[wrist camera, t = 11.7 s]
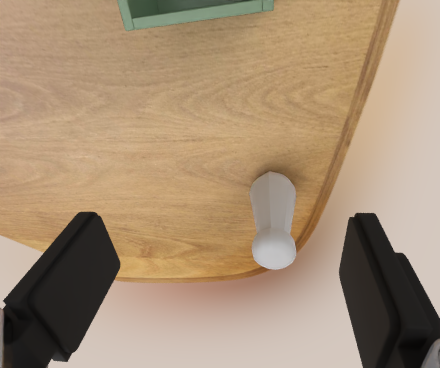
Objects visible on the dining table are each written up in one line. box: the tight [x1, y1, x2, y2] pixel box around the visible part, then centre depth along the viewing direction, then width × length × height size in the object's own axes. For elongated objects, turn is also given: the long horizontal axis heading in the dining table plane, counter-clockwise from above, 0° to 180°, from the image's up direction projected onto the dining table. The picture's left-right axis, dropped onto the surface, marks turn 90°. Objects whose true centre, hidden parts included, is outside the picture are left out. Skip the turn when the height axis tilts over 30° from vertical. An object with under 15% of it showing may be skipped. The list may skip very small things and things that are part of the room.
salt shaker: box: [249, 171, 296, 269], centre depth 33 cm, size 6×6×13 cm
